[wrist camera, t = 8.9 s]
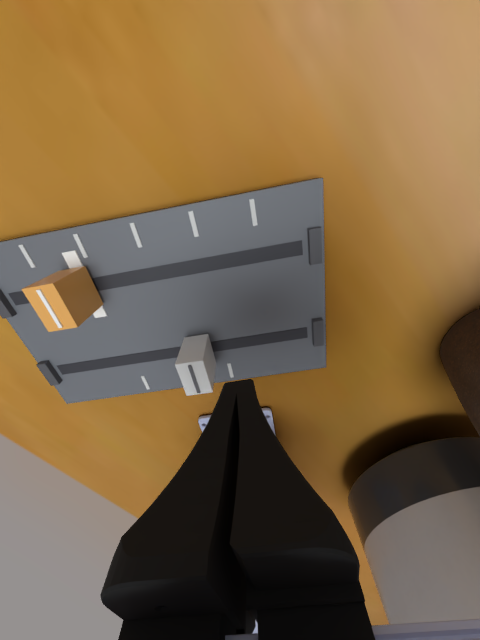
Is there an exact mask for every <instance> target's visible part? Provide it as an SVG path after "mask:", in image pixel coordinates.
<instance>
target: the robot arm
mask: <svg viewBox="0 0 480 640" xmlns="http://www.w3.org/2000/svg"><path fill="white" fill-rule="evenodd" d="M267 415H268V416H267ZM198 422H199V425H200V428H201V430H202V434H201V436H200V438H199V440H198V441H197V443H196V445H195V446H194V448H193V450H192V451H191V453H190V454H189V456H188V457H187V459H186V460H185V462H184V463H183V465H182V466H181V468H180V469H179V470H178V472H177V473H176V475H175V476H174V477H173V479H172V480H171V481H170V483H169V484H168V485H167V486H166V488H165V489H164V490H163V491H162V492H161V494H160V495H159V496H158V497H157V499H156V500H155V501H154V502H153V503H152V505H151V506H150V507H149V508H148V509H147V510H146V511H145V512H144V514H143V515H142V516H141V517H140V518H139V519H138V520H137V521H136V522H135V523H134V524H133V525H132V527H131V528H130V529H129V530H128V531H127V532H126V533H125V534H124V535H123V536H122V537H121V540H120V543H119V545H118V547H117V549H116V552H115V554H114V557H113V560H112V562H111V565H110V568H109V571H108V575H107V578H106V580H105V583H104V587H103V589H102V592H101V600H102V603H103V604H104V605H105V606H106V607H107V608H109V609H110V610H111V611H112V612H114V613H115V614H116V615H118V616H119V617H120V618H122V619H123V624H122V628H121V632H120V635H119V639H118V640H480V619H465V620H450V621H435V622H420V623H405V624H389V625H374V626H371V623H370V620H369V617H368V613H367V610H366V607H365V603H364V602H365V599H364V595H363V592H362V589H361V585H360V582H359V567H360V565H359V560H358V557H357V555H356V552H355V550H354V548H353V546H352V544H351V542H350V540H349V538H348V536H347V534H346V533H345V531H344V529H343V528H342V526H341V524H340V523H339V521H338V519H337V518H336V516H335V514H334V513H333V511H332V510H331V509H330V508H329V507H328V506H327V504H326V503H325V502H324V501H323V500H322V499H321V498H320V496H319V495H318V494H317V493H316V492H315V490H314V489H313V488H312V487H311V485H310V484H309V483H308V482H307V480H306V479H305V478H304V477H303V475H302V474H301V473H300V471H299V470H298V469H297V467H296V466H295V464H294V463H293V462H292V460H291V459H290V458H289V456H288V455H287V453H286V452H285V450H284V449H283V447H282V446H281V444H280V442H279V441H278V439H277V437H276V435H275V429H274V423H273V417H272V411H271V409H270V408H261V407H260V404H259V402H258V399H257V395H256V391H255V386H254V382H253V380H251V379H248V380H241V381H235V382H228V383H225V384H224V386H223V389H222V391H221V394H220V396H219V399H218V401H217V404H216V406H215V408H214V410H213V413H212V415H207V416H201V417H199V420H198ZM204 423H205V424H204Z"/></svg>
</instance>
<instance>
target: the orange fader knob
mask: <svg viewBox="0 0 480 640" xmlns="http://www.w3.org/2000/svg"><path fill="white" fill-rule="evenodd" d="M22 291H23V293H24V294H25V296H26V297H27V299H28V300H29V302H30V304H31V305H32V307H33V308H34V310H35V311H36V313H37V315H38V316H39V318H40V319H41V321H42V322H43V324H44V326H45V327H46V329H47V330H48V332H53V331H59V330H65V329H71V328H77V327H79V326H80V325H81V324H82V323H83V322H84V321H85V320H86V319H88V318H89V317H90V316H91V315H92V314H93V313H94V312H95V311H96V310H98V309H99V308H100V307H101V306H102V305H103V302H102V300H101V298H100V295H99V293H98V291H97V289H96V287H95V285H94V283H93V281H92V279H91V277H90V275H89V273H88V271H87V269H86V267H85V266H82V267H77V268H71V269H66V270H61V271H57V272H55V273H53V274H51V275H49V276H47V277H45V278H43V279H41V280H39V281H37V282H35V283H33V284H31V285H29V286H27V287H25V288H23V289H22Z"/></svg>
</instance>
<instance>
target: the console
mask: <svg viewBox="0 0 480 640" xmlns="http://www.w3.org/2000/svg"><path fill="white" fill-rule="evenodd" d="M82 266H85V267H86V269H87V271H88V273H89V275H90V277H91V279H92V281H93V283H94V285H95V287H96V289H97V291H98V293H99V295H100V298H101V300H102V302H103V305H102V306H101V307H100V308H99V309H98V310H96V311H95V312H94V313H93V314H92V315H91V316H90V317H89V318H88V319H86V320H85V321H84V322H83V323H82V324H81V325H80V326H79V327H77V328H71V329H65V330H59V331H53V332H48V330H47V329H46V327H45V326H44V324H43V322H42V321H41V319H40V318H39V316H38V315H37V313H36V311H35V310H34V308H33V307H32V305H31V304H30V302H29V300H28V299H27V297H26V296H25V294H24V293H23V291H22V289H23V288H25V287H27V286H29V285H31V284H33V283H35V282H37V281H39V280H41V279H43V278H45V277H47V276H49V275H51V274H53V273H55V272H57V271H61V270H66V269H71V268H77V267H82ZM0 315H1V317H2V318H6V319H7V320H8V322H9V323H10V324H11V326H12V327H13V329H14V330H15V331H16V333H17V334H18V336H19V337H20V338H21V340H22V341H23V343H24V344H25V345H26V347H27V348H28V350H29V351H30V353H31V354H32V355H33V357H34V358H35V360H36V361H37V362H38V364H37V367H38V368H39V370H40V371H41V372H42V374H43V375H44V376H45V378H46V379H47V381H48V382H49V383H50V385H51V386H52V385H54V386H55V388H56V389H57V390H58V392H59V393H60V395H61V396H62V398H63V399H64V400H65V402H66V403H67V404H68V403H75V402H82V401H89V400H97V399H104V398H111V397H118V396H125V395H132V394H139V393H146V392H154V391H161V390H168V389H175V388H182V387H183V385H182V382H181V379H180V377H179V374H178V372H177V369H176V366H175V363H176V360H177V357H178V354H179V351H180V348H181V346H182V343H183V340H184V337H191V336H197V335H203V334H208V335H209V339H210V342H211V346H212V349H213V353H214V356H215V360H216V369H215V377H214V383H218V382H225V381H232V380H239V379H246V378H253V377H260V376H267V375H274V374H282V373H289V372H296V371H303V370H310V369H317V368H324V367H326V324H325V265H324V206H323V178H315V179H310V180H305V181H300V182H295V183H290V184H285V185H280V186H275V187H270V188H265V189H260V190H255V191H250V192H245V193H240V194H235V195H230V196H225V197H220V198H215V199H210V200H205V201H200V202H195V203H190V204H185V205H180V206H175V207H170V208H165V209H160V210H155V211H150V212H145V213H140V214H135V215H130V216H125V217H120V218H115V219H110V220H105V221H100V222H95V223H90V224H85V225H80V226H75V227H70V228H65V229H60V230H55V231H50V232H45V233H40V234H35V235H30V236H25V237H20V238H15V239H10V240H5V241H0Z"/></svg>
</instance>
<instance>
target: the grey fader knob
mask: <svg viewBox="0 0 480 640" xmlns="http://www.w3.org/2000/svg"><path fill="white" fill-rule="evenodd" d="M175 366H176V369H177V372H178V374H179V377H180V379H181V382H182V385H183V387H184V390H185V393H186V395H187V396H189V395H196V394H203V393H210V392H213V385H214V377H215V369H216V360H215V356H214V353H213V349H212V346H211V342H210V339H209V335H208V334H203V335H197V336H191V337H184V340H183V343H182V346H181V348H180V351H179V354H178V357H177V360H176V363H175Z"/></svg>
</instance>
